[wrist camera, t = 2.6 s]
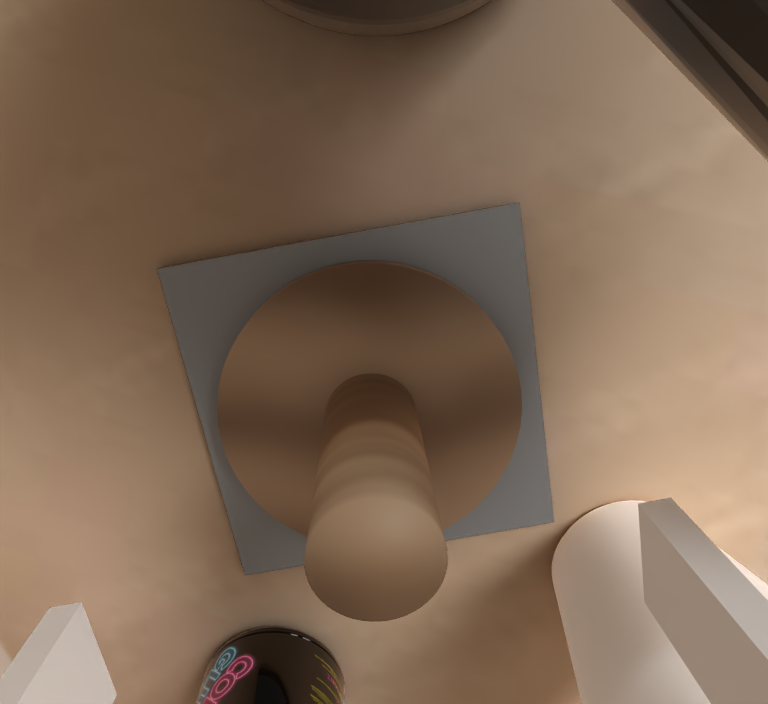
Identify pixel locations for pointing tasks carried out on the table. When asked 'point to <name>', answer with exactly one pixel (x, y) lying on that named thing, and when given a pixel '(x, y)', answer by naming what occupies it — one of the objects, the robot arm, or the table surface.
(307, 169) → the table surface
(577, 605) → the cup
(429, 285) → the lid
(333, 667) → the supplement container
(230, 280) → the mat
